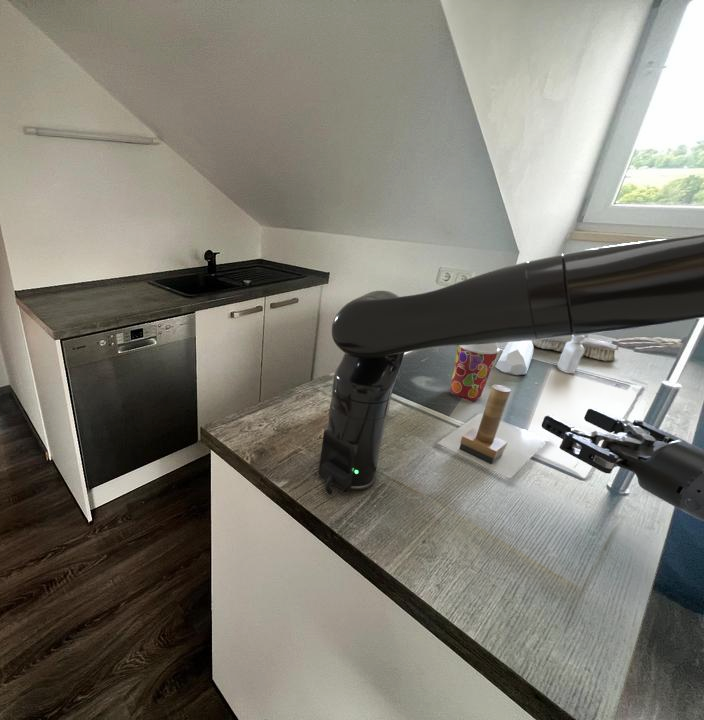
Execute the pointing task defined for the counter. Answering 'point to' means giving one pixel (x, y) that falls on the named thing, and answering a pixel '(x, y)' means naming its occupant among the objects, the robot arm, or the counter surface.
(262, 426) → the counter surface
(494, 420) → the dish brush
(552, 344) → the shoe brush
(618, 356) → the counter surface
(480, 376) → the smoothie
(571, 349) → the eye dropper bottle
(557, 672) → the counter surface
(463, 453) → the tile
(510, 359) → the crystal
